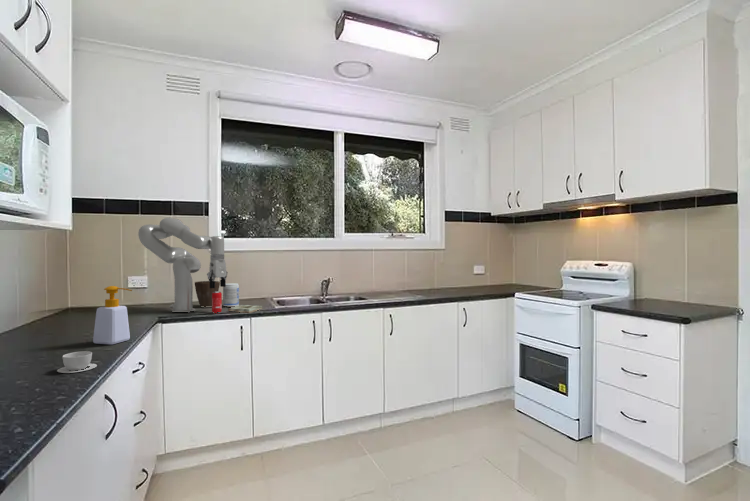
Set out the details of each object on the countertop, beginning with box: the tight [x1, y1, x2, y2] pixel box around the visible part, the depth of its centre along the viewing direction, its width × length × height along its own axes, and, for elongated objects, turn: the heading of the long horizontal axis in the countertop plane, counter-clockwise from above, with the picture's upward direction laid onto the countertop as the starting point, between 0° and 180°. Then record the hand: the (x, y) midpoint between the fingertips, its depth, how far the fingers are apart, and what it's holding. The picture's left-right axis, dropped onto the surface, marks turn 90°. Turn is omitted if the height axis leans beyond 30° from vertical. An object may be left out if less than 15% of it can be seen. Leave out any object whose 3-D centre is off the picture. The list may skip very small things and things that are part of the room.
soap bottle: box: [92, 285, 133, 346], centre depth 161 cm, size 10×14×22 cm
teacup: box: [56, 350, 98, 374], centre depth 126 cm, size 10×10×5 cm
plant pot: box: [194, 280, 221, 307], centre depth 259 cm, size 15×15×16 cm
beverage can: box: [211, 291, 223, 314], centre depth 236 cm, size 5×5×12 cm
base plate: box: [227, 304, 263, 314], centre depth 245 cm, size 14×14×2 cm
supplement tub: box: [222, 282, 240, 307], centre depth 261 cm, size 10×10×15 cm
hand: (217, 287), depth 236 cm, fingers open, 9 cm apart
